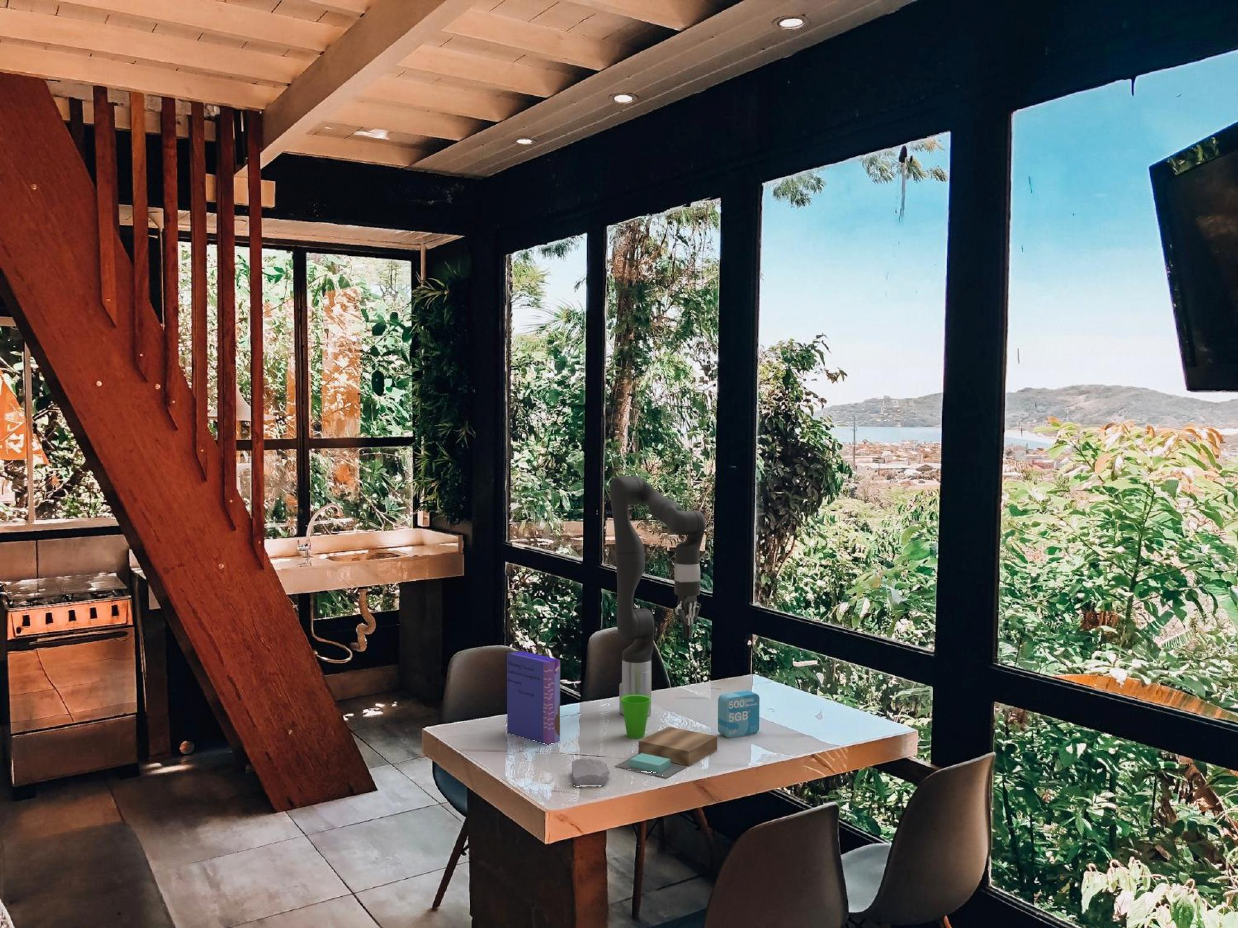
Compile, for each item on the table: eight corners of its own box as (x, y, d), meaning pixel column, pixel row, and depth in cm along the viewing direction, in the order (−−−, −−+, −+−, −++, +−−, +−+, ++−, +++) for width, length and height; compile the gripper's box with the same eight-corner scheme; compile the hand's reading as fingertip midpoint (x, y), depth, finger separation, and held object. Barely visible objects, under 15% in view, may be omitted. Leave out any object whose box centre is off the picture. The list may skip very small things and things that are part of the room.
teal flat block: (641, 752, 268) (641, 760, 268) (629, 759, 263) (629, 766, 263) (670, 758, 263) (670, 766, 263) (659, 765, 258) (659, 772, 258)
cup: (655, 733, 293) (655, 696, 292) (643, 742, 284) (643, 704, 284) (628, 729, 296) (628, 693, 296) (615, 738, 288) (615, 700, 288)
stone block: (605, 778, 261) (568, 771, 260) (609, 760, 260) (572, 754, 259) (609, 796, 249) (570, 789, 248) (613, 778, 249) (574, 771, 248)
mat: (615, 766, 264) (615, 765, 264) (635, 756, 272) (635, 755, 272) (666, 778, 255) (666, 777, 255) (685, 767, 263) (685, 766, 263)
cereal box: (559, 741, 285) (560, 658, 284) (547, 745, 281) (548, 661, 280) (519, 729, 296) (519, 649, 296) (507, 732, 293) (507, 652, 292)
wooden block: (638, 754, 273) (638, 740, 273) (668, 739, 286) (668, 726, 286) (688, 766, 264) (688, 751, 264) (717, 750, 278) (717, 735, 277)
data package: (726, 738, 288) (726, 697, 288) (717, 734, 292) (717, 694, 291) (759, 732, 294) (759, 692, 293) (750, 728, 298) (750, 689, 297)
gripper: (687, 574, 297) (687, 632, 298) (664, 580, 286) (664, 639, 287) (709, 576, 293) (709, 635, 294) (687, 582, 282) (686, 642, 283)
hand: (687, 637), depth 290 cm, fingers closed
